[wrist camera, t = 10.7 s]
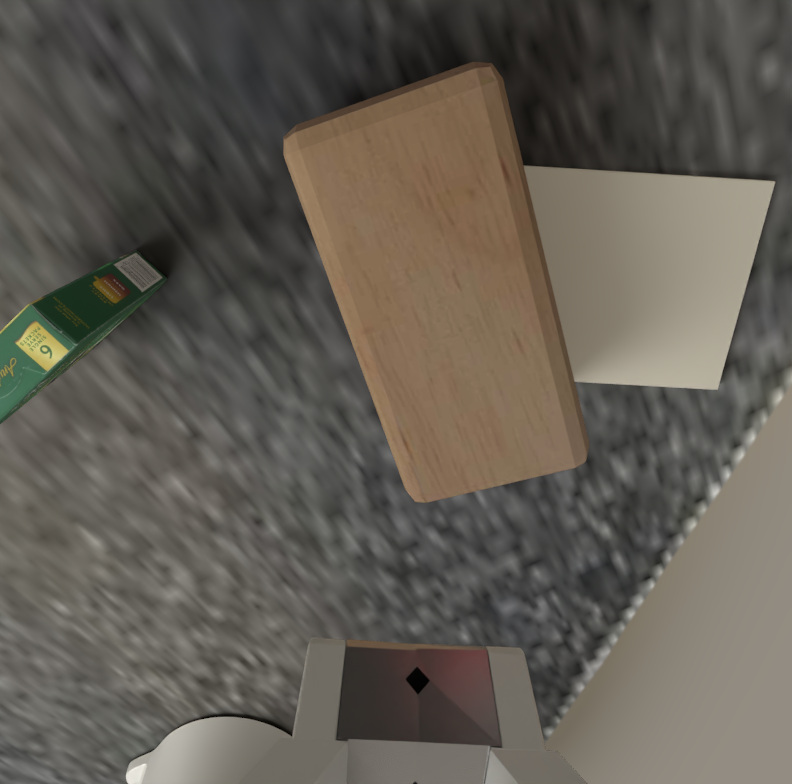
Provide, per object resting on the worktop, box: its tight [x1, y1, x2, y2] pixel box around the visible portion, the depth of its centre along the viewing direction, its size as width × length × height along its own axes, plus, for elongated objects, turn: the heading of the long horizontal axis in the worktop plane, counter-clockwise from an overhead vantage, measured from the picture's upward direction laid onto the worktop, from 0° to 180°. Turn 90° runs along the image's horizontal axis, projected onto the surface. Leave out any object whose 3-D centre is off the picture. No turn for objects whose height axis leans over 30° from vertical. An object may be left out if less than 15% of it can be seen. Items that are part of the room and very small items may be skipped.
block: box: [284, 62, 589, 503], centre depth 35 cm, size 10×10×20 cm
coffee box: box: [0, 250, 167, 424], centre depth 36 cm, size 8×3×13 cm, turn 129°
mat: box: [523, 165, 775, 390], centre depth 41 cm, size 13×16×1 cm
